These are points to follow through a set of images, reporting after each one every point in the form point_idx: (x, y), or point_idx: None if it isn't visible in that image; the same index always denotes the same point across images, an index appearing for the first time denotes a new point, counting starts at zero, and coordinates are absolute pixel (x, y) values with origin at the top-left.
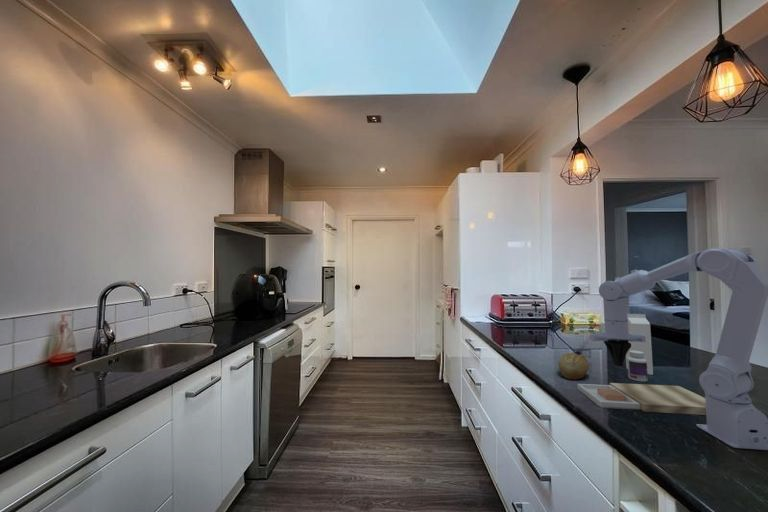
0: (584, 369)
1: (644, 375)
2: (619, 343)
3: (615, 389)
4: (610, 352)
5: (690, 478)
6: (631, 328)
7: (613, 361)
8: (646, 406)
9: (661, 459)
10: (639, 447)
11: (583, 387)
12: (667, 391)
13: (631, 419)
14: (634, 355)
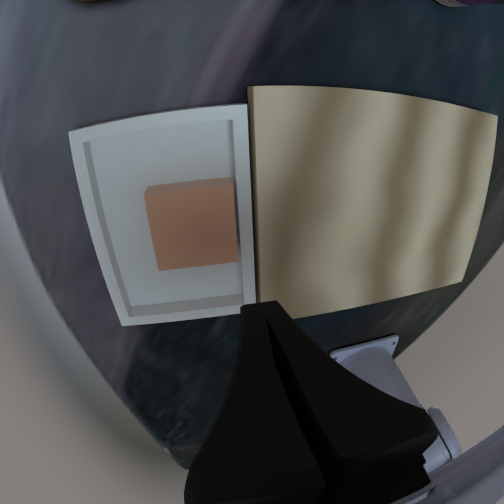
0: None
1: (465, 4)
2: (315, 502)
3: (232, 191)
4: (234, 381)
5: (194, 456)
6: None
7: (241, 319)
8: None
9: (179, 442)
10: (159, 430)
11: (85, 182)
12: (437, 175)
13: (189, 359)
14: None
